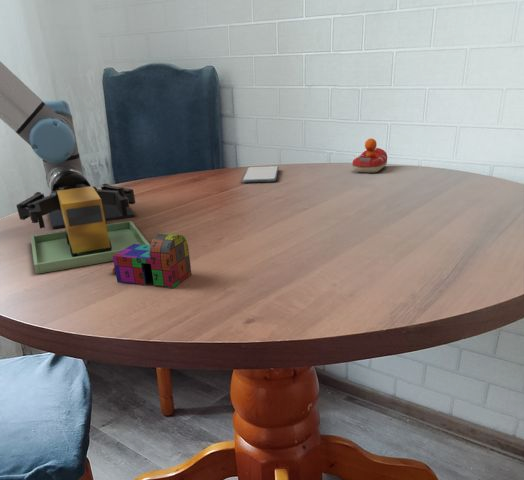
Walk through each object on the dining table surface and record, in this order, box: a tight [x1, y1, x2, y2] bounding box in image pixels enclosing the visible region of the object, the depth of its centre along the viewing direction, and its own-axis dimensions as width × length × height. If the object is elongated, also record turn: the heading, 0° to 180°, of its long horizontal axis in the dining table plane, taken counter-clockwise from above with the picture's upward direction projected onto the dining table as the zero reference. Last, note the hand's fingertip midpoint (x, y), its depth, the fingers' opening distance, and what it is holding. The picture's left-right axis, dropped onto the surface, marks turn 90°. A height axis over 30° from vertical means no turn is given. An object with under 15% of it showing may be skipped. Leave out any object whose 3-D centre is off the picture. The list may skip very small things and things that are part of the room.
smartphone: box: [242, 165, 279, 183], centre depth 139 cm, size 8×1×15 cm
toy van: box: [57, 185, 112, 256], centre depth 91 cm, size 7×11×9 cm, turn 22°
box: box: [30, 220, 151, 275], centre depth 93 cm, size 18×17×2 cm
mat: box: [48, 204, 135, 230], centre depth 114 cm, size 16×14×1 cm
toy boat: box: [351, 138, 388, 174], centre depth 139 cm, size 8×12×8 cm, turn 155°
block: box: [112, 232, 192, 289], centre depth 79 cm, size 12×8×7 cm
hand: (83, 213), depth 90 cm, fingers open, 13 cm apart
